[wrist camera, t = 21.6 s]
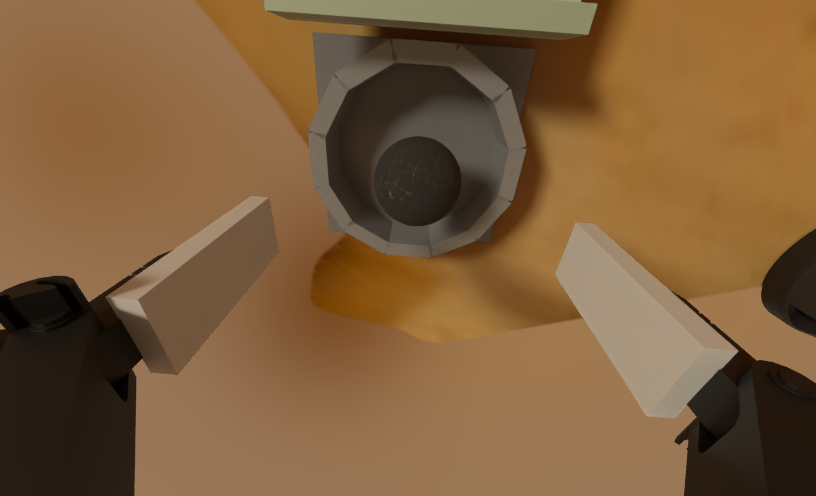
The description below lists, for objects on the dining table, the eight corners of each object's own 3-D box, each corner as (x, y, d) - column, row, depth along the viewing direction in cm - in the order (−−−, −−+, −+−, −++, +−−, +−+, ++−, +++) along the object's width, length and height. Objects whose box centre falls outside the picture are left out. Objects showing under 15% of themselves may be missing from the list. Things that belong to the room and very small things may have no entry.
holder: (533, 49, 21) (559, 44, 17) (488, 238, 30) (499, 265, 26) (315, 33, 21) (291, 24, 17) (331, 227, 30) (317, 252, 26)
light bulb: (389, 188, 27) (374, 245, 18) (381, 122, 24) (358, 152, 15) (451, 184, 26) (466, 240, 18) (451, 116, 23) (468, 143, 15)
